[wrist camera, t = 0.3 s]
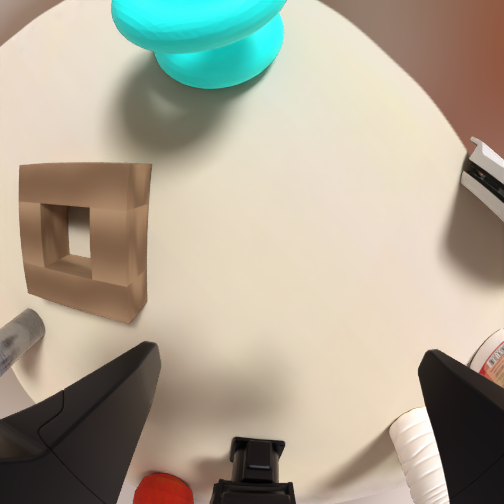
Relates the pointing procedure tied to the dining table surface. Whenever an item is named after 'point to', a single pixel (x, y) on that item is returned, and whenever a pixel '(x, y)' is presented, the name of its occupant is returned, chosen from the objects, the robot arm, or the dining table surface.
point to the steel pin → (19, 337)
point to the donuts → (204, 37)
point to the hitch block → (101, 235)
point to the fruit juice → (491, 358)
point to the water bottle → (419, 457)
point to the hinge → (486, 177)
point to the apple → (162, 490)
